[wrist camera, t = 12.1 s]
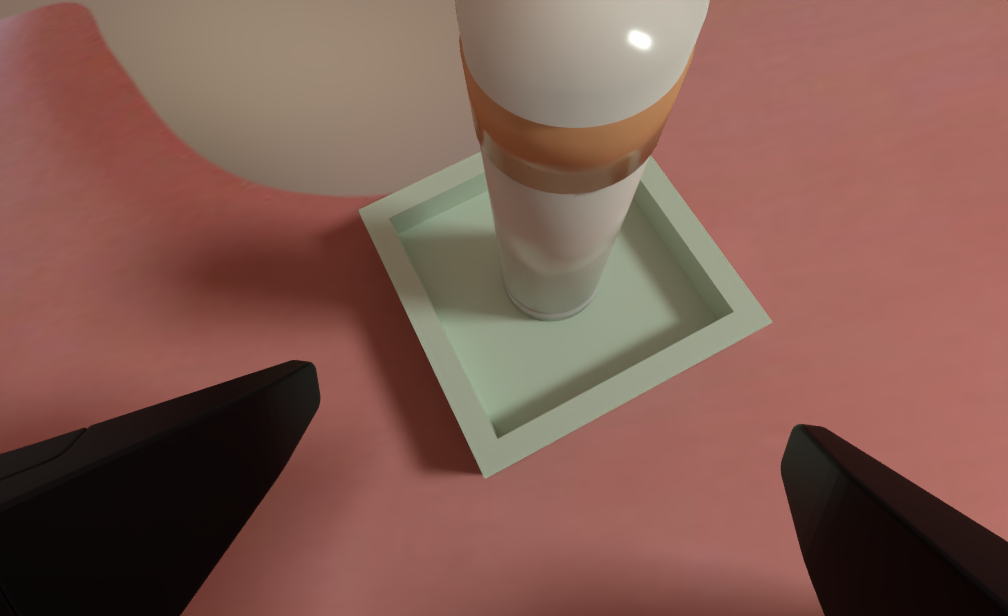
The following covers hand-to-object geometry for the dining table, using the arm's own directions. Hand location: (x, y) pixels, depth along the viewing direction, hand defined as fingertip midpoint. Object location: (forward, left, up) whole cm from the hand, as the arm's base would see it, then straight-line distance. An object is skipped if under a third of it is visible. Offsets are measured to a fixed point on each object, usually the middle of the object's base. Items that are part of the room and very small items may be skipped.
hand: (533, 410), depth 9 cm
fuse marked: (+4, +5, -10) cm, 12 cm away
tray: (+4, +5, -11) cm, 12 cm away
